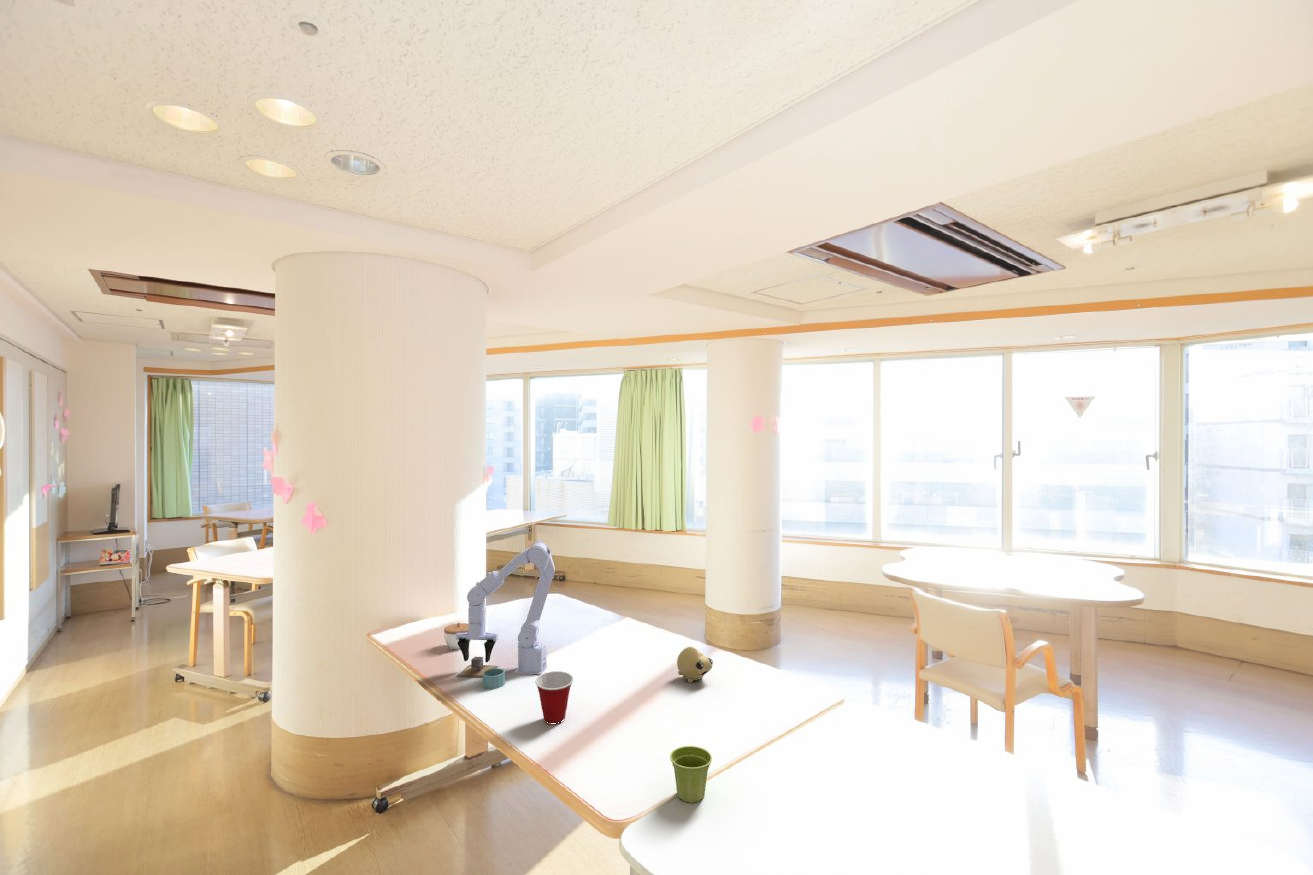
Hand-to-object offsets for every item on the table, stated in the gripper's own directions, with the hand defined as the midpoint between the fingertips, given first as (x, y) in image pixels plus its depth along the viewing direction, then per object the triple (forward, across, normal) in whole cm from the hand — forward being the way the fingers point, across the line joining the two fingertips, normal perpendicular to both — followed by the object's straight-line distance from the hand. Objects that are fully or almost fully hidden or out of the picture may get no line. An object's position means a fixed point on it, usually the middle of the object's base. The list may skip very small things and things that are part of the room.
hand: (477, 660), depth 208 cm
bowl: (+4, -10, +10) cm, 15 cm away
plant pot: (+4, -78, +64) cm, 101 cm away
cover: (+4, 0, 0) cm, 4 cm away
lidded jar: (+4, +18, -24) cm, 30 cm away
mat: (+4, 0, 0) cm, 4 cm away
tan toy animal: (+4, -75, -1) cm, 75 cm away
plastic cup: (+4, -37, +32) cm, 49 cm away
